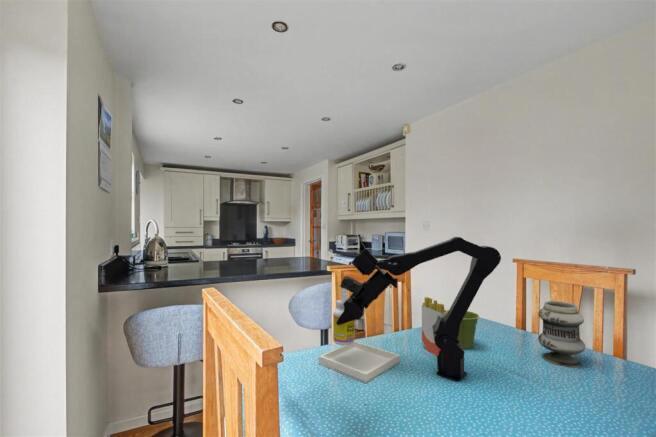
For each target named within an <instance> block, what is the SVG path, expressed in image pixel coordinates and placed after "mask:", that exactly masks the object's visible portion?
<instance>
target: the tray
mask: <svg viewBox="0 0 656 437" xmlns="http://www.w3.org/2000/svg"><path fill="white" fill-rule="evenodd" d="M400 361H401V355H400V354H399V353H398V354H397V353H395V352H391V351H388V350H385V349H382V348H378V347H376V346H372V345H369V344H365V343H363V342H359V341H356V340H354V343H353V344H351V345H340V346H339V347H337V348H335V349H332V350H330V351H327V352H325V353H322V354H321V355H318V365H319V366H323V367H325V368H328V369H331V370H333V371H335V372H338V373H340V374H342V375H344V376H347V377H349V378H351V379H355V380H357V381H359V382H362V383H364V384H368V383H370V382H371V381H372V380H374V379H376V378H378V377H380V376H381V375H382V374H384V373H386V372H388V371H389V370H391V369H392V368H394V367H395V366H396V365H398V364H400V363H401V362H400Z"/></svg>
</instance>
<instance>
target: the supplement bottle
mask: <svg viewBox="0 0 656 437" xmlns="http://www.w3.org/2000/svg"><path fill="white" fill-rule="evenodd" d="M346 300H347V299H338V300H336V302H335V303H336V305H335V306H336V308H334V309H333V313H332V316H333V322H332V323H333V324H332V326H333V328H332V329H333V330H332V332H333V334H332V335H333V337H332V338H333V343H334V344H336V345H338V346H343V345H351V344H353V343H354V341H355V320H353V321H350V322H347V323H344V324H341V325H337V323H336V322H337V320H338V319H339V317H340V316H341V314H342V313H343V311H344V305H343V304H344V303H345V301H346Z"/></svg>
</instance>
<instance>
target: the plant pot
mask: <svg viewBox="0 0 656 437" xmlns="http://www.w3.org/2000/svg"><path fill="white" fill-rule="evenodd" d="M446 312H447V310H446ZM479 318H480V315H479V314H478V313H477V312H473V311H469V310H467V312H466V314H465V316H464V318H463V320H462V322H461V324H460V330H459V335H458V338H457V340H458V341H459V342H460V344H461V346H462V348H463V349H466V350H468V349H472V348H473V347H474V341H475V336H476V329H477V328H476V327H477V325H478V324H477V323H478V319H479Z"/></svg>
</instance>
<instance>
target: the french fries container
mask: <svg viewBox="0 0 656 437" xmlns="http://www.w3.org/2000/svg"><path fill="white" fill-rule="evenodd" d="M446 311H447V312H446ZM448 311H449V309H447V310H446V309H445V304H443V303H438V300H435V299H434V300H433V298H431V297H427V296H424V302H422V304H421V341H422V343H423V345H424V348H425V350H426V351H427V352H429V353H430V354H432V355H434V356H435V357H437V356H438V355H439V351H440V350H441V349H439V348H438V347H437V346H436V344H435V341H434V337H433V328H432V326H433V325H434V324H435V323H436V320H437V317H438V316H440V317H441V318H443V317H444V316H445V315H446V314H447V313H448Z"/></svg>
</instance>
